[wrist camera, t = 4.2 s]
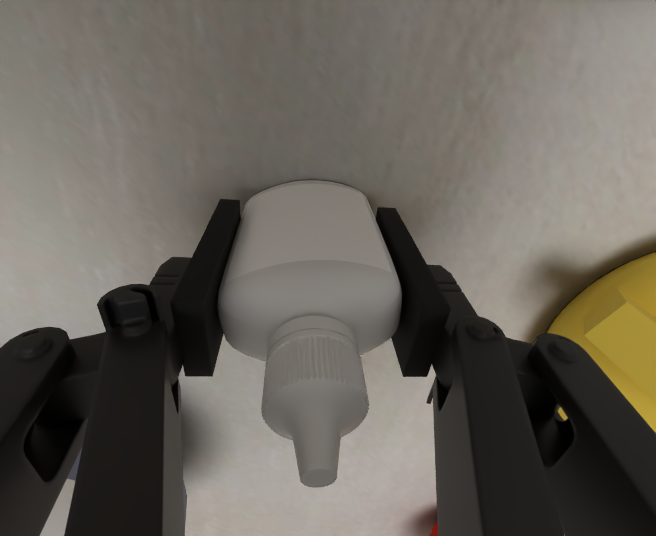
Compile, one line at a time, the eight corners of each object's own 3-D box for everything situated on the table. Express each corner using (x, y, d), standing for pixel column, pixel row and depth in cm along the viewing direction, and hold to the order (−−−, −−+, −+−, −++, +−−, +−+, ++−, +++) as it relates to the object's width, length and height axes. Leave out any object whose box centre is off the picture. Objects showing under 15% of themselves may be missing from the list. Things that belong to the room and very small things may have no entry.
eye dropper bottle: (269, 144, 15) (205, 369, 5) (380, 198, 16) (506, 447, 6) (235, 228, 17) (141, 508, 7) (337, 268, 18) (382, 540, 9)
